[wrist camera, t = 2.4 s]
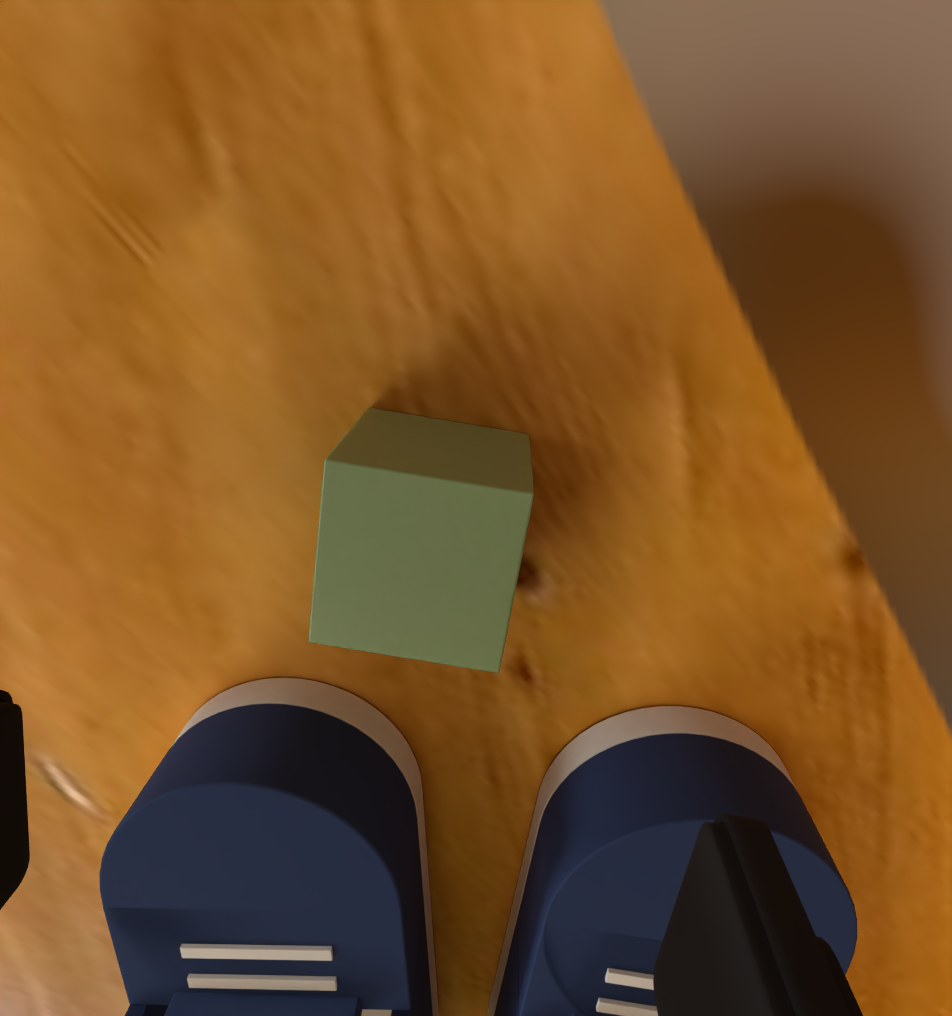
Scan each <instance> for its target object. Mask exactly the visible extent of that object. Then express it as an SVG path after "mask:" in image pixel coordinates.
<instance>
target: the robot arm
mask: <svg viewBox="0 0 952 1016" xmlns="http://www.w3.org/2000/svg"><path fill="white" fill-rule="evenodd" d="M29 857H30V852H29V833H28V814H27V795H26V777H25V758H24V739H23V720H22V711H21V708H20V706H19V705H17V704H13V702H12V697H11V696H10V694H9V693H8V692H6V691H3V690H0V909H1V908H2V907H3V906H4V904H5V903H6V902H7V900H8V899H9V898H10V897H11V895H12V894H13V893H14V892H15V890H16V889H17V888H18V886H19V885H20V883H21V882H22V880H23V878H24V876H25V873H26V871H27V868H28V864H29ZM653 986H654V996H655V1002H656V1007H657V1013H658V1016H863V1015H862V1012H861V1010H860V1008H859V1006H858V1003H857V1001H856V999H855V997H854V995H853V992H852V990H851V988H850V986H849V984H848V981H847V979H846V977H845V975H844V972H843V970H842V968H841V966H840V964H839V961H838V959H837V957H836V955H835V954H834V952H833V950H832V948H831V947H830V945H829V944H828V943H827V942H826V941H825V940H824V939H822V938H821V937H816V935H815V932H814V930H813V928H812V926H811V923H810V921H809V919H808V916H807V914H806V912H805V909H804V907H803V905H802V903H801V900H800V898H799V896H798V893H797V891H796V889H795V886H794V884H793V882H792V880H791V877H790V875H789V873H788V870H787V868H786V866H785V863H784V861H783V859H782V857H781V854H780V852H779V850H778V847H777V845H776V843H775V840H774V838H773V836H772V834H771V831H770V829H769V827H768V825H767V824H766V822H764V821H763V820H761V819H755V818H749V817H743V816H738V815H732V814H726V813H720V814H719V815H718V816H717V817H716V818H715V820H714V823H712V822H704V823H703V824H702V826H701V828H700V830H699V833H698V836H697V839H696V842H695V845H694V848H693V851H692V854H691V857H690V860H689V863H688V866H687V869H686V872H685V875H684V878H683V881H682V884H681V887H680V890H679V893H678V896H677V899H676V902H675V905H674V908H673V911H672V914H671V917H670V920H669V923H668V926H667V929H666V932H665V935H664V938H663V941H662V944H661V947H660V950H659V953H658V956H657V959H656V963H655V967H654V977H653Z"/></svg>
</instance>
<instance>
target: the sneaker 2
mask: <svg viewBox="0 0 952 1016" xmlns="http://www.w3.org/2000/svg"><path fill="white" fill-rule="evenodd" d="M720 813H726V814H732V815H738V816H743V817H749V818H755V819H761V820H763V821H764V822H766V824H767V825H768V827H769V829H770V831H771V834H772V836H773V838H774V840H775V843H776V845H777V847H778V850H779V852H780V854H781V857H782V859H783V861H784V863H785V866H786V868H787V870H788V873H789V875H790V877H791V880H792V882H793V884H794V886H795V889H796V891H797V893H798V896H799V898H800V900H801V903H802V905H803V907H804V909H805V912H806V914H807V916H808V919H809V921H810V923H811V926H812V928H813V930H814V932H815V935H816V937H821V938H822V939H824V940H825V941H826V942H827V943H828V944H829V945H830V947H831V948H832V950H833V952H834V954H835V955H836V957H837V959H838V961H839V964H840V966H841V968H842V970H843V972H844V975H845V974H846V972H847V970H848V968H849V965H850V963H851V960H852V957H853V954H854V951H855V945H856V940H857V918H856V913H855V907H854V904H853V901H852V898H851V896H850V893H849V891H848V889H847V887H846V885H845V883H844V881H843V879H842V877H841V875H840V873H839V871H838V869H837V867H836V865H835V863H834V861H833V859H832V857H831V855H830V853H829V852H828V850H827V848H826V846H825V844H824V842H823V840H822V838H821V836H820V834H819V832H818V830H817V828H816V826H815V824H814V822H813V820H812V818H811V816H810V815H809V813H808V811H807V809H806V807H805V805H804V803H803V801H802V799H801V797H800V795H799V793H798V791H797V789H796V787H795V785H794V783H793V781H792V779H791V777H790V776H789V774H788V772H787V770H786V768H785V766H784V764H783V763H782V761H781V759H780V758H779V756H778V755H777V753H776V752H775V751H774V750H773V749H772V747H771V746H770V745H769V744H768V743H767V742H766V741H765V740H764V739H762V738H761V737H760V736H759V735H758V734H757V733H755V732H754V731H752V730H751V729H749V728H748V727H746V726H745V725H743V724H741V723H739V722H737V721H735V720H733V719H731V718H729V717H726V716H723V715H721V714H718V713H715V712H712V711H707V710H703V709H698V708H692V707H682V706H657V707H649V708H641V709H637V710H633V711H628V712H624V713H621V714H619V715H616V716H613V717H610V718H608V719H606V720H604V721H601V722H599V723H597V724H595V725H593V726H592V727H590V728H589V729H587V730H586V731H584V732H582V733H581V734H579V735H578V736H577V737H576V738H575V739H573V740H572V741H571V742H570V743H569V744H568V745H567V746H566V747H565V748H564V749H563V750H562V751H561V752H560V753H559V754H558V755H557V757H556V758H555V760H554V761H553V762H552V764H551V765H550V767H549V768H548V770H547V772H546V774H545V776H544V778H543V780H542V783H541V786H540V790H539V793H538V796H537V801H536V805H535V809H534V814H533V818H532V822H531V826H530V831H529V835H528V839H527V844H526V848H525V852H524V856H523V861H522V865H521V869H520V873H519V878H518V882H517V886H516V891H515V895H514V899H513V903H512V908H511V912H510V916H509V921H508V925H507V929H506V933H505V938H504V942H503V946H502V950H501V955H500V959H499V963H498V968H497V972H496V976H495V980H494V985H493V989H492V993H491V998H490V1002H489V1006H488V1013H487V1016H658V1013H657V1007H656V1002H655V996H654V986H653V977H654V967H655V963H656V959H657V956H658V953H659V950H660V947H661V944H662V941H663V938H664V935H665V932H666V929H667V926H668V923H669V920H670V917H671V914H672V911H673V908H674V905H675V902H676V899H677V896H678V893H679V890H680V887H681V884H682V881H683V878H684V875H685V872H686V869H687V866H688V863H689V860H690V857H691V854H692V851H693V848H694V845H695V842H696V839H697V836H698V833H699V830H700V828H701V826H702V824H703V823H704V822H712V823H714V820H715V818H716V817H717V816H718V815H719V814H720Z"/></svg>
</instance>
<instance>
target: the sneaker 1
mask: <svg viewBox="0 0 952 1016" xmlns="http://www.w3.org/2000/svg"><path fill="white" fill-rule="evenodd" d="M100 893H101V898H102V903H103V909H104V912H105V916H106V920H107V923H108V927H109V931H110V934H111V938H112V941H113V945H114V949H115V952H116V956H117V960H118V963H119V967H120V971H121V974H122V978H123V981H124V985H125V989H126V992H127V996H128V1000H129V1003H130V1006H129V1008H128V1010H127V1012H126V1014H125V1016H438V993H437V980H436V966H435V953H434V939H433V926H432V912H431V899H430V885H429V872H428V858H427V845H426V831H425V818H424V804H423V791H422V781H421V775H420V771H419V767H418V764H417V761H416V758H415V756H414V754H413V752H412V750H411V748H410V746H409V744H408V743H407V741H406V740H405V738H404V737H403V735H402V734H401V733H400V731H399V730H398V729H397V728H396V727H395V726H394V725H393V723H392V722H391V721H390V720H389V719H388V718H386V717H385V716H384V715H383V714H382V713H381V712H380V711H379V710H377V709H376V708H374V707H373V706H372V705H370V704H369V703H367V702H366V701H364V700H362V699H361V698H359V697H357V696H355V695H353V694H351V693H349V692H347V691H344V690H342V689H340V688H337V687H335V686H332V685H328V684H324V683H321V682H317V681H312V680H306V679H299V678H269V679H261V680H256V681H250V682H247V683H244V684H241V685H238V686H234V687H232V688H230V689H228V690H226V691H224V692H222V693H220V694H218V695H216V696H215V697H213V698H212V699H210V700H209V701H207V702H206V703H205V704H204V705H203V706H202V707H201V708H199V709H198V710H197V711H196V712H195V714H194V715H193V716H192V717H191V719H190V720H189V721H188V722H187V724H186V725H185V727H184V728H183V730H182V731H181V733H180V734H179V736H178V737H177V739H176V740H175V742H174V743H173V745H172V746H171V748H170V749H169V751H168V752H167V754H166V755H165V757H164V758H163V760H162V761H161V763H160V764H159V765H158V767H157V768H156V770H155V771H154V773H153V774H152V776H151V777H150V779H149V780H148V782H147V783H146V785H145V786H144V788H143V789H142V791H141V792H140V794H139V795H138V797H137V798H136V800H135V801H134V803H133V804H132V806H131V807H130V809H129V810H128V812H127V813H126V815H125V816H124V818H123V819H122V821H121V822H120V824H119V825H118V827H117V828H116V829H115V831H114V833H113V835H112V836H111V838H110V840H109V842H108V843H107V846H106V849H105V852H104V854H103V857H102V863H101V869H100Z"/></svg>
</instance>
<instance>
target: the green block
mask: <svg viewBox="0 0 952 1016" xmlns="http://www.w3.org/2000/svg"><path fill="white" fill-rule="evenodd" d="M533 499H534V486H533V474H532V462H531V449H530V437H529V434H525V433H519V432H513V431H507V430H501V429H495V428H489V427H483V426H477V425H471V424H465V423H459V422H453V421H447V420H441V419H435V418H429V417H423V416H417V415H411V414H405V413H399V412H393V411H387V410H381V409H375V408H368V409H367V411H366V412H365V413H364V414H363V415H362V416H361V418H360V419H359V420H358V421H357V422H356V424H355V425H354V426H353V427H352V428H351V429H350V431H349V432H348V433H347V434H346V435H345V436H344V438H343V439H342V440H341V441H340V442H339V444H338V445H337V446H336V447H335V448H334V449H333V451H332V452H331V453H330V454H329V455H328V457H327V458H326V459H325V461H324V471H323V482H322V494H321V505H320V516H319V527H318V538H317V549H316V560H315V572H314V583H313V594H312V605H311V616H310V627H309V639H308V640H309V642H310V643H316V644H322V645H328V646H335V647H341V648H347V649H353V650H359V651H365V652H371V653H378V654H384V655H390V656H396V657H402V658H408V659H414V660H421V661H427V662H433V663H439V664H445V665H451V666H457V667H464V668H470V669H476V670H482V671H488V672H494V673H499V671H500V667H501V662H502V657H503V652H504V647H505V641H506V636H507V631H508V626H509V621H510V616H511V611H512V606H513V601H514V596H515V591H516V586H517V580H518V575H519V570H520V565H521V560H522V555H523V550H524V545H525V540H526V535H527V530H528V525H529V519H530V514H531V509H532V504H533Z"/></svg>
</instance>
